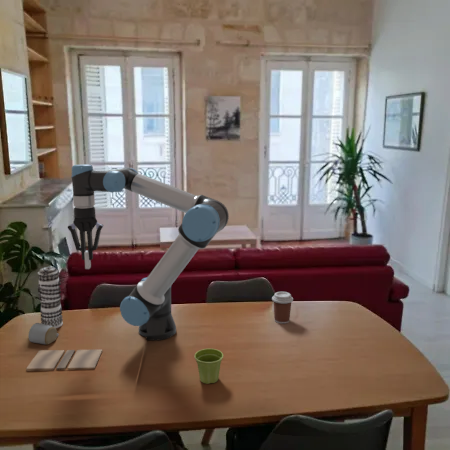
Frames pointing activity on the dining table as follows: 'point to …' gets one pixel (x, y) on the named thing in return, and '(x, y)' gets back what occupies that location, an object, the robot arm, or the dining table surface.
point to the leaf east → (45, 360)
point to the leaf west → (85, 359)
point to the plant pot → (209, 364)
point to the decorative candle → (50, 297)
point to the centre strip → (65, 360)
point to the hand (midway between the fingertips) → (88, 267)
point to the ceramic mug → (42, 334)
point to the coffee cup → (282, 306)
